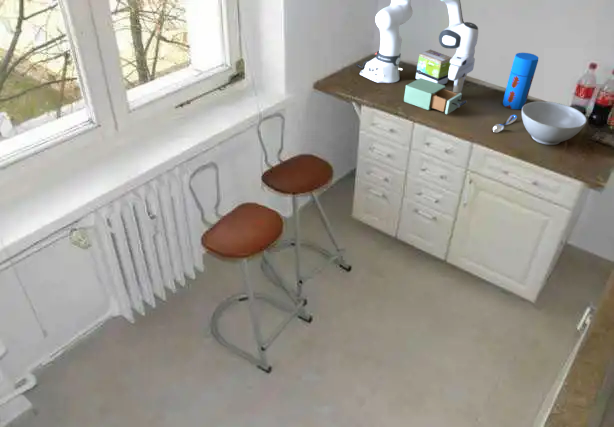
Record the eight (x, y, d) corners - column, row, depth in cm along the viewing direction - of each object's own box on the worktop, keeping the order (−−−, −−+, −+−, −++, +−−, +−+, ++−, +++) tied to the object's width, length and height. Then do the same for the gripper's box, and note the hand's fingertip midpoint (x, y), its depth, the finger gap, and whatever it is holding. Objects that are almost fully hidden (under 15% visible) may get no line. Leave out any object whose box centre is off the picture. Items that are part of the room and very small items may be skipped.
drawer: (467, 109, 256) (470, 96, 252) (455, 117, 249) (457, 104, 245) (435, 98, 266) (438, 85, 262) (422, 105, 258) (425, 93, 254)
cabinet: (442, 102, 265) (445, 85, 260) (428, 110, 256) (431, 93, 251) (417, 93, 272) (420, 77, 267) (403, 101, 264) (405, 85, 259)
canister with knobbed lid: (449, 96, 270) (455, 69, 261) (454, 94, 273) (460, 67, 264) (457, 99, 268) (463, 72, 259) (462, 96, 270) (468, 70, 262)
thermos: (498, 104, 264) (511, 56, 249) (508, 98, 270) (521, 50, 255) (518, 111, 258) (533, 62, 243) (528, 105, 264) (542, 56, 249)
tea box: (414, 79, 288) (418, 52, 279) (426, 74, 293) (430, 48, 285) (436, 87, 279) (441, 60, 270) (447, 83, 284) (453, 56, 276)
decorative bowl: (530, 119, 251) (537, 96, 244) (586, 139, 236) (596, 114, 229) (504, 137, 235) (511, 113, 228) (563, 159, 221) (572, 134, 213)
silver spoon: (511, 109, 250) (521, 112, 247) (510, 116, 252) (519, 119, 250) (491, 125, 239) (501, 128, 236) (489, 132, 241) (499, 135, 239)
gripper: (468, 50, 266) (463, 76, 274) (448, 60, 253) (443, 87, 262) (479, 53, 262) (474, 79, 271) (460, 64, 250) (454, 91, 258)
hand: (458, 83), depth 266 cm, fingers closed on canister with knobbed lid, 5 cm apart
